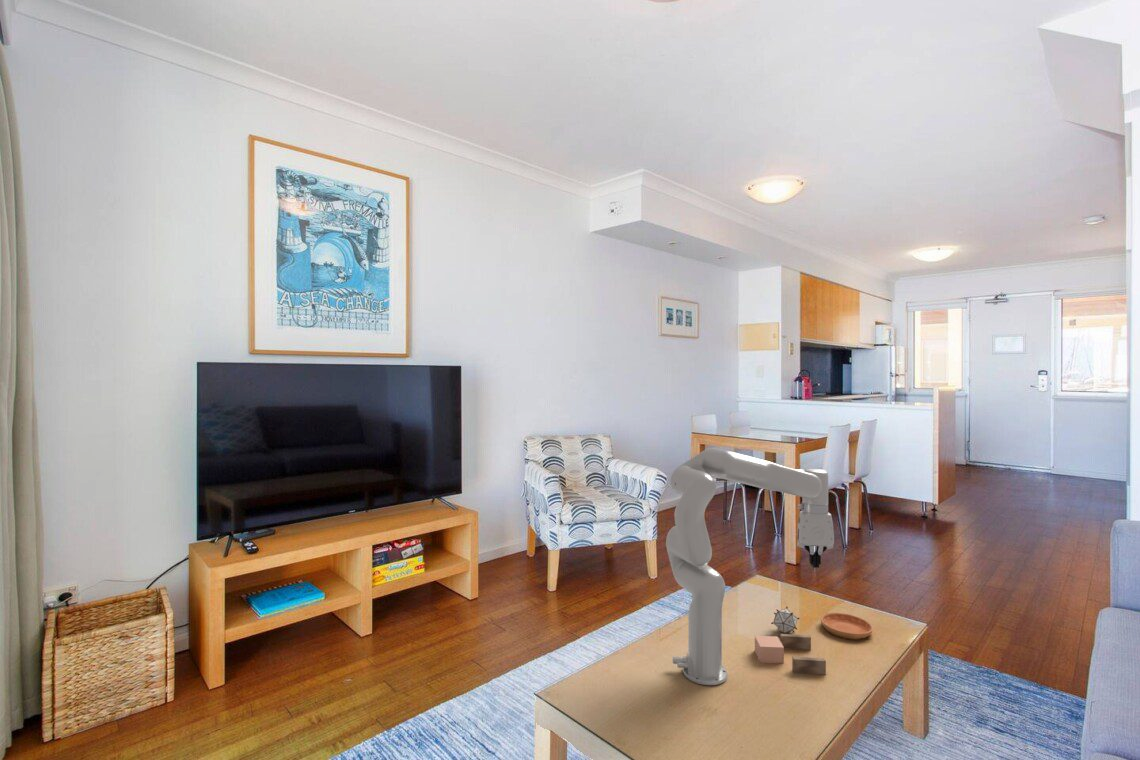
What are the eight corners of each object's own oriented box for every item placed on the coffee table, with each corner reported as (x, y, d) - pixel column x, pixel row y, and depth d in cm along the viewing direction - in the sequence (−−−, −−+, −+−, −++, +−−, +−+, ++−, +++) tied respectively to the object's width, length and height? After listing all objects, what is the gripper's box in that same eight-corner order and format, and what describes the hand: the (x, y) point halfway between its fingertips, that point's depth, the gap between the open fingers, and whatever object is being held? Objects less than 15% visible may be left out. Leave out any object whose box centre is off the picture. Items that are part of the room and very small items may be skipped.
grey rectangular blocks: (793, 672, 165) (793, 659, 165) (780, 646, 180) (780, 633, 180) (825, 674, 163) (825, 661, 163) (809, 647, 179) (809, 635, 179)
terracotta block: (760, 662, 171) (760, 646, 171) (754, 651, 178) (754, 635, 177) (783, 663, 170) (783, 647, 170) (777, 652, 177) (777, 636, 177)
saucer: (860, 621, 198) (861, 613, 198) (881, 643, 182) (881, 634, 182) (814, 619, 200) (814, 611, 200) (830, 641, 184) (830, 632, 184)
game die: (791, 645, 189) (806, 628, 183) (767, 635, 189) (782, 619, 183) (788, 622, 196) (802, 605, 191) (765, 613, 196) (779, 596, 191)
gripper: (793, 510, 174) (793, 569, 174) (844, 512, 172) (844, 571, 172) (787, 504, 181) (787, 561, 181) (835, 506, 179) (835, 563, 180)
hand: (814, 566), depth 177 cm, fingers closed
